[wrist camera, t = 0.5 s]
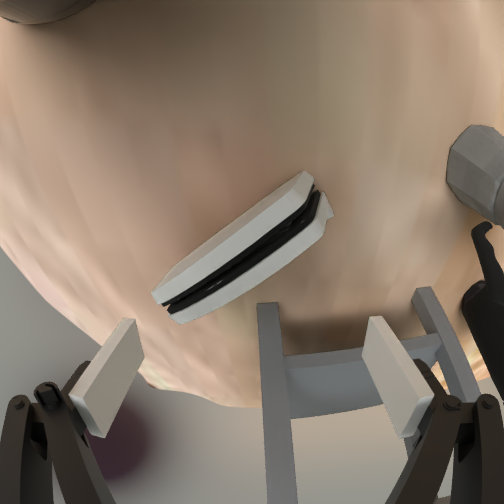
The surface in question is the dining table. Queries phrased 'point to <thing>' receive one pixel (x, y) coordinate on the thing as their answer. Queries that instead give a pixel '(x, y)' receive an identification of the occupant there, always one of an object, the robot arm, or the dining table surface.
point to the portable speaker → (487, 330)
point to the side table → (341, 384)
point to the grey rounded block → (246, 250)
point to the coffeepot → (481, 193)
